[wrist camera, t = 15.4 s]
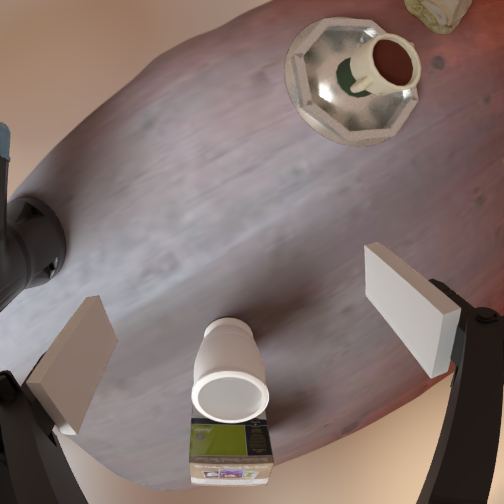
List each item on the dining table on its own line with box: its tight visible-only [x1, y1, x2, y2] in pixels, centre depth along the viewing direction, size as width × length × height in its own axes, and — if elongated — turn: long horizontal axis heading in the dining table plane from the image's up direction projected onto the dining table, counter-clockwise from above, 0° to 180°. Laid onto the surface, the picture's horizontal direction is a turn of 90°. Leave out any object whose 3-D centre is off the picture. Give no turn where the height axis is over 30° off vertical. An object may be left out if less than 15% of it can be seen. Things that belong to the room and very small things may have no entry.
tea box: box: [189, 406, 274, 486], centre depth 53 cm, size 15×10×15 cm
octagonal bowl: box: [285, 17, 419, 147], centre depth 38 cm, size 21×21×3 cm
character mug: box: [336, 33, 422, 98], centre depth 33 cm, size 11×7×13 cm, turn 134°
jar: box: [191, 318, 269, 423], centre depth 46 cm, size 11×10×15 cm
